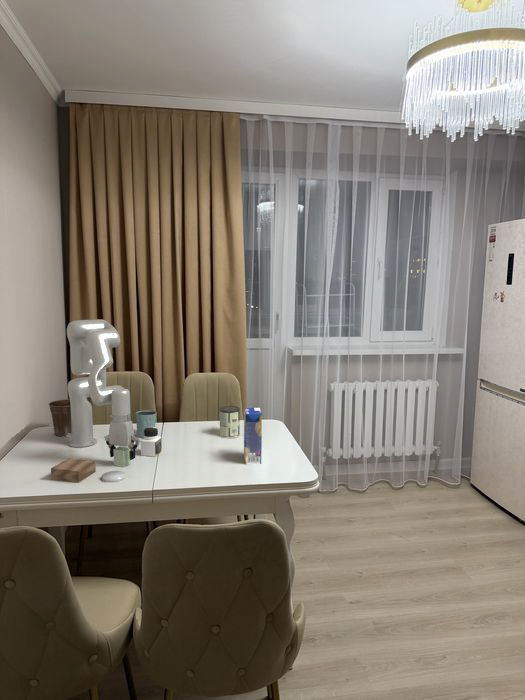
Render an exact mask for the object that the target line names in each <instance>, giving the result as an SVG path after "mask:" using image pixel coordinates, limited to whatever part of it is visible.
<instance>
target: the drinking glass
mask: <svg viewBox="0 0 525 700" xmlns="http://www.w3.org/2000/svg"><path fill="white" fill-rule="evenodd" d="M135 421H136V422H135V423H136V435H137V437H136V438H138V439H143V438H145V437H144V429H145V428H147V427H156V421H157V411H154V410H148V409H147V410H146V409H145V410H139V411H138V410H137V411H136V412H135Z"/></svg>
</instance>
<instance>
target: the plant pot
mask: <svg viewBox="0 0 525 700" xmlns="http://www.w3.org/2000/svg"><path fill="white" fill-rule="evenodd" d="M48 406H49V409H50V413H51V418H52V424H53V425H52V426H53V432H54V435H55V436H56V435H59V437H61V436H66V435H67V434H68V433H72V428H71V405H70V398H67V399H66V398H65V399H59V400H53V401H51V402H49V403H48Z"/></svg>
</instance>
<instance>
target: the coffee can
mask: <svg viewBox="0 0 525 700" xmlns="http://www.w3.org/2000/svg"><path fill="white" fill-rule="evenodd" d="M240 411H241V407H238V406H235V405H224V406H221V407H219V437H221V438H224V439H235V438H238V437H240V436H241V435H240V434H241V433H240V430H241V429H240V428H241V427H240V426H241V425H240V416H241V415H240Z"/></svg>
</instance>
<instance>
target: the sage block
mask: <svg viewBox="0 0 525 700" xmlns="http://www.w3.org/2000/svg"><path fill="white" fill-rule="evenodd" d="M113 450H114V456H113V466H115V467H122V468H125V467H126V466H128V465H130V464H131V463H132V460H130V458H129V451H130V449H129V447H128V446H127V447H124V446H118V447H116V448H115V449H113Z"/></svg>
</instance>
